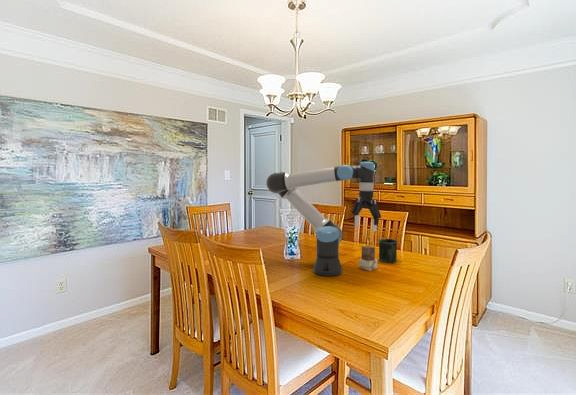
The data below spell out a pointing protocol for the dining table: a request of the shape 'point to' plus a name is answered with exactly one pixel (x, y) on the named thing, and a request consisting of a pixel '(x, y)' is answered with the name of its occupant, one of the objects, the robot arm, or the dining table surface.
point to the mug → (388, 250)
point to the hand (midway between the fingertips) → (365, 228)
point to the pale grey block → (368, 264)
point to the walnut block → (368, 253)
